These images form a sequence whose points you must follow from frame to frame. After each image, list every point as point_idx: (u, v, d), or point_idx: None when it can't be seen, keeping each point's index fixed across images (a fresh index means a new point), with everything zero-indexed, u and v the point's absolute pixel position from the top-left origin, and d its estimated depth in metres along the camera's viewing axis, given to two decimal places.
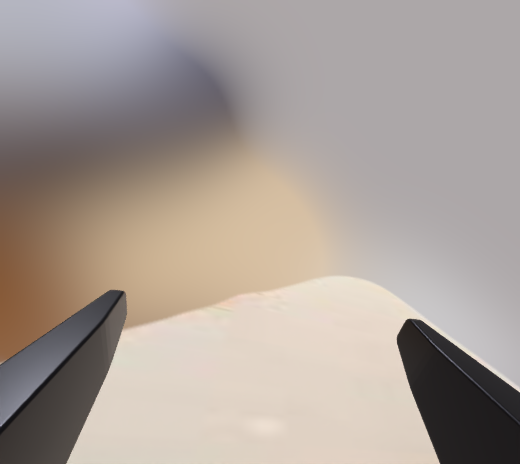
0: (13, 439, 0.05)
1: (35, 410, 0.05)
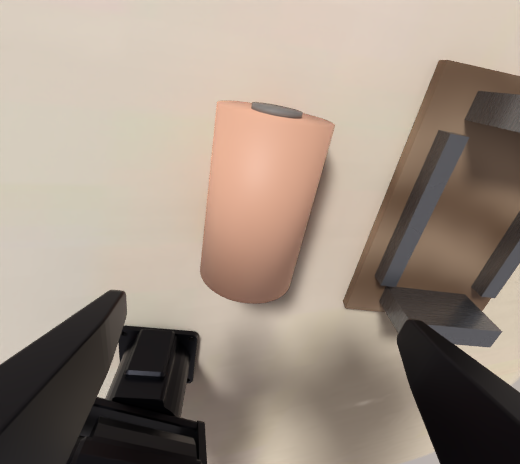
0: (13, 439, 0.05)
1: (35, 410, 0.05)
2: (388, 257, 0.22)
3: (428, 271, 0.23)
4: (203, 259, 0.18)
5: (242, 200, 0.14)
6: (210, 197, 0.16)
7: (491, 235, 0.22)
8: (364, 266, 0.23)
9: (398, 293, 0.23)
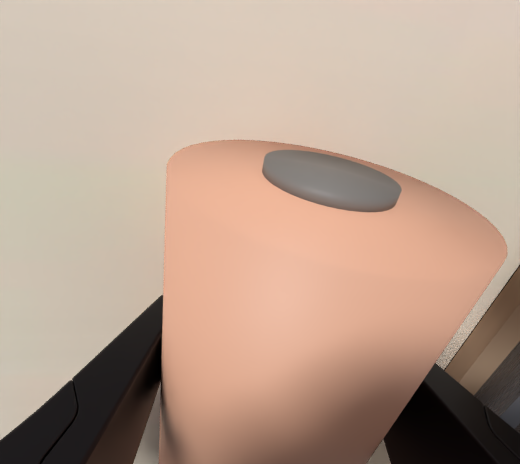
0: (106, 442, 0.05)
1: (120, 414, 0.05)
2: (496, 396, 0.12)
3: None
4: (159, 461, 0.09)
5: (237, 441, 0.05)
6: (162, 374, 0.07)
7: None
8: None
9: None
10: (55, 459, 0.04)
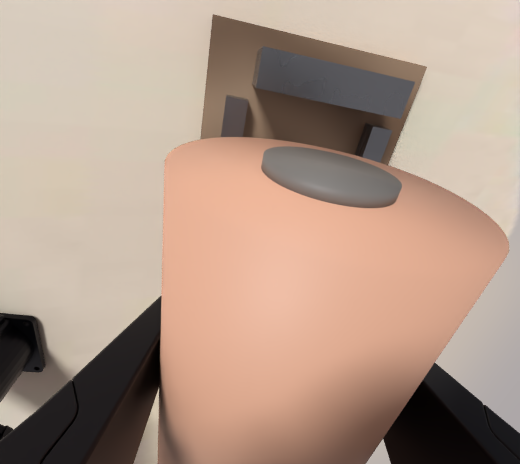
0: (107, 442, 0.05)
1: (121, 414, 0.05)
2: None
3: None
4: (158, 461, 0.09)
5: (236, 439, 0.05)
6: (161, 373, 0.07)
7: None
8: None
9: None
10: (55, 459, 0.04)
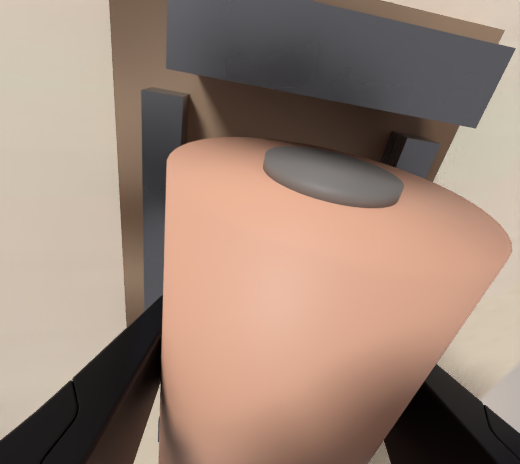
0: (107, 442, 0.05)
1: (120, 414, 0.05)
2: None
3: None
4: (159, 461, 0.09)
5: (238, 439, 0.05)
6: (162, 373, 0.07)
7: None
8: (129, 314, 0.14)
9: None
10: (55, 459, 0.04)
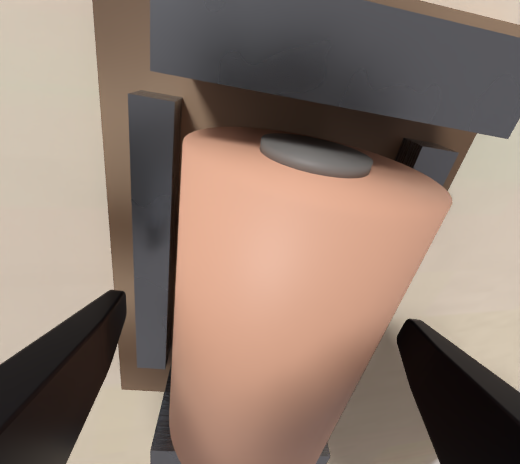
0: (13, 439, 0.05)
1: (35, 410, 0.05)
2: None
3: None
4: (171, 410, 0.10)
5: (240, 364, 0.06)
6: (176, 324, 0.08)
7: None
8: None
9: None
10: None
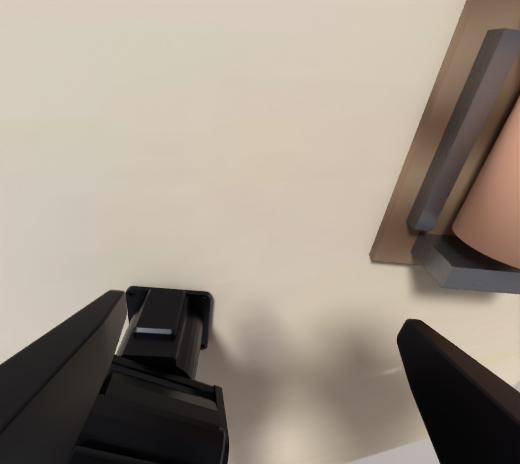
0: (13, 439, 0.05)
1: (35, 410, 0.05)
2: (423, 196, 0.19)
3: None
4: (486, 229, 0.16)
5: None
6: None
7: None
8: (395, 209, 0.20)
9: (434, 239, 0.20)
10: None
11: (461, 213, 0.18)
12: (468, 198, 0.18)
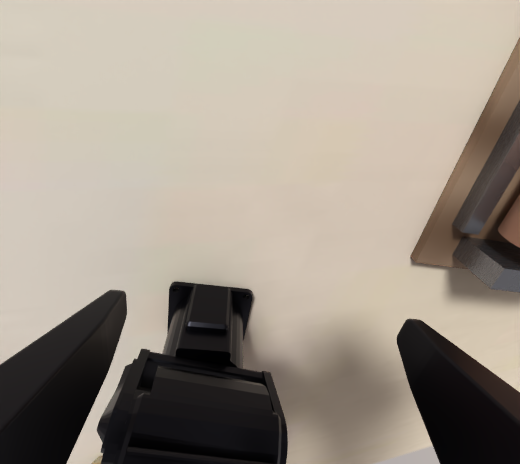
0: (13, 439, 0.05)
1: (35, 410, 0.05)
2: (473, 200, 0.20)
3: None
4: None
5: None
6: None
7: None
8: (442, 213, 0.21)
9: (478, 243, 0.21)
10: None
11: (510, 218, 0.19)
12: (518, 203, 0.19)
